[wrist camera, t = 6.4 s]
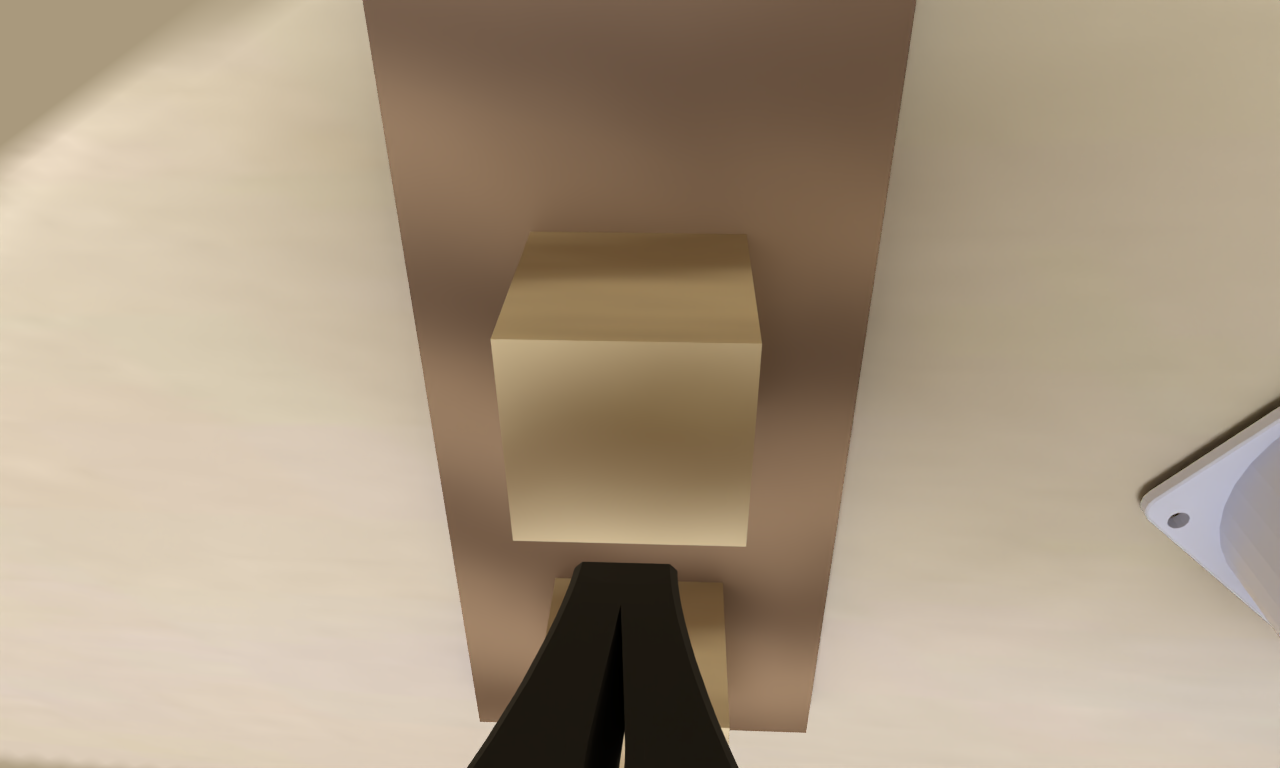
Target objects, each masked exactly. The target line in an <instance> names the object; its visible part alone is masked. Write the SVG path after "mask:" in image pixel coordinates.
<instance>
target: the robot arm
mask: <svg viewBox="0 0 1280 768" xmlns="http://www.w3.org/2000/svg"><path fill="white" fill-rule="evenodd" d="M1140 508H1141V510H1142V511H1143V513H1144V514H1145V516H1146V517H1147V519H1148V520H1149V521H1150V522H1151V523H1152V524H1153V525H1155V526H1156V527H1157V528H1158V529H1159V530H1160V531H1161V532H1163V533H1164V534H1165V535H1166V536H1167V537H1168V538H1170V539H1171V540H1172V541H1173V542H1174V543H1175V544H1177V545H1178V546H1179V547H1180V548H1181V549H1182V550H1184V551H1185V552H1186V553H1187V554H1188V555H1189V556H1191V557H1192V558H1193V559H1194V560H1195V561H1196V562H1198V563H1199V564H1200V565H1201V566H1202V567H1203V568H1204V569H1206V570H1207V571H1208V572H1209V573H1210V574H1211V575H1213V576H1214V577H1215V578H1216V579H1217V580H1218V581H1220V582H1221V583H1222V584H1223V585H1224V586H1225V587H1227V588H1228V589H1229V590H1230V591H1231V592H1232V593H1234V594H1235V595H1236V596H1237V597H1238V598H1239V599H1240V600H1242V601H1243V602H1244V603H1245V604H1246V605H1247V606H1249V607H1250V608H1251V609H1252V610H1253V611H1254V612H1256V613H1257V614H1258V615H1259V616H1260V617H1261V618H1263V619H1264V620H1265V621H1266V622H1267V623H1268V624H1270V625H1271V626H1272V627H1273V628H1274V630H1275V631H1276V633H1277V634H1278V635H1279V637H1280V406H1279V407H1278V408H1276V409H1275V410H1273V411H1272V412H1270V413H1269V414H1267V415H1266V416H1264V417H1263V418H1261V419H1259V420H1258V421H1256V422H1255V423H1253V424H1252V425H1250V426H1249V427H1247V428H1246V429H1244V430H1243V431H1241V432H1239V433H1238V434H1236V435H1235V436H1233V437H1232V438H1230V439H1229V440H1227V441H1226V442H1224V443H1223V444H1221V445H1219V446H1218V447H1216V448H1215V449H1213V450H1212V451H1210V452H1209V453H1207V454H1206V455H1204V456H1203V457H1201V458H1200V459H1198V460H1196V461H1195V462H1193V463H1192V464H1190V465H1189V466H1187V467H1186V468H1184V469H1183V470H1181V471H1180V472H1178V473H1176V474H1175V475H1173V476H1172V477H1170V478H1169V479H1167V480H1166V481H1164V482H1163V483H1161V484H1160V485H1158V486H1157V487H1155V488H1153V489H1152V490H1150V491H1149V492H1148V493H1147V494H1146V495H1144V496H1143V498H1142V500H1141V502H1140ZM1176 513H1179V514H1178V515H1177V516H1175V517H1172V518H1170V517H1171V516H1172V515H1174V514H1176ZM624 735H625V763H624V768H738V766H737V764H736V761H735V759H734V757H733V755H732V752H731V750H730V748H729V745H728V743H727V741H726V738H725V736H724V734H723V731H722V729H721V727H720V724H719V722H718V719H717V717H716V714H715V711H714V709H713V706H712V704H711V701H710V698H709V696H708V693H707V690H706V687H705V684H704V681H703V679H702V676H701V673H700V670H699V667H698V664H697V661H696V658H695V655H694V652H693V648H692V645H691V642H690V638H689V634H688V630H687V627H686V623H685V619H684V614H683V610H682V605H681V600H680V593H679V586H678V572H677V570H676V569H675V568H674V567H673V566H672V565H670V564H654V563H616V562H582V563H580V564H579V565H578V566H576V567H575V569H574V572H573V575H572V578H571V581H570V584H569V586H568V589H567V591H566V594H565V596H564V599H563V601H562V603H561V606H560V608H559V610H558V612H557V615H556V617H555V619H554V621H553V623H552V625H551V627H550V629H549V631H548V633H547V635H546V638H545V640H544V642H543V643H542V645H541V647H540V649H539V651H538V653H537V654H536V656H535V658H534V660H533V662H532V664H531V666H530V667H529V669H528V671H527V673H526V675H525V677H524V679H523V680H522V682H521V684H520V686H519V687H518V689H517V691H516V693H515V694H514V696H513V697H512V699H511V701H510V702H509V704H508V705H507V707H506V709H505V710H504V712H503V713H502V715H501V717H500V718H499V720H498V722H497V723H496V725H495V726H494V728H493V730H492V731H491V733H490V734H489V736H488V738H487V739H486V741H485V742H484V744H483V745H482V747H481V748H480V750H479V751H478V753H477V754H476V755H475V757H474V758H473V760H472V761H471V763H470V764H469V766H468V767H467V768H619V766H620V759H621V752H622V746H623V739H624Z"/></svg>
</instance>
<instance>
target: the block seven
mask: <svg viewBox="0 0 1280 768" xmlns="http://www.w3.org/2000/svg"><path fill="white" fill-rule="evenodd" d="M570 581H571V578H555V584H554V590H553V596H552V602H551V608H550V613H549V619H548V625H547V631H546V635H547V633H548V631H549V629H550V627H551V625H552V623H553V621H554V619H555V617H556V615H557V612H558V610H559V608H560V606H561V603H562V601H563V599H564V596H565V594H566V591H567V589H568V586H569V584H570ZM678 586H679V593H680V600H681V605H682V610H683V614H684V619H685V623H686V627H687V630H688V634H689V638H690V642H691V645H692V648H693V652H694V655H695V658H696V661H697V664H698V667H699V670H700V673H701V676H702V679H703V681H704V684H705V687H706V690H707V693H708V696H709V698H710V701H711V704H712V706H713V709H714V711H715V714H716V717H717V719H718V722H719V724H720V727H721V729H722V731H723V734H724V736H725V738H726V741H727V743H728V744H729V731H730V724H729V703H728V682H727V661H726V639H725V618H724V597H723V583H720V582H683V581H678ZM545 638H546V637H545ZM624 763H625V735H624V739H623V746H622V752H621V759H620V766H619V768H624Z"/></svg>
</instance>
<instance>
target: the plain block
mask: <svg viewBox="0 0 1280 768" xmlns="http://www.w3.org/2000/svg"><path fill="white" fill-rule="evenodd" d="M491 348H492V357H493V366H494V375H495V384H496V393H497V402H498V411H499V420H500V429H501V438H502V447H503V456H504V465H505V473H506V482H507V491H508V500H509V509H510V518H511V527H512V536H513V541H544V542H583V543H622V544H661V545H700V546H739V547H746V541H747V529H748V516H749V503H750V491H751V478H752V465H753V453H754V440H755V427H756V415H757V402H758V389H759V377H760V364H761V351H762V340H761V332H760V325H759V318H758V311H757V304H756V297H755V290H754V283H753V276H752V269H751V262H750V255H749V248H748V241H747V234H688V233H603V232H530V234H529V236H528V239H527V242H526V244H525V247H524V250H523V253H522V255H521V258H520V261H519V263H518V266H517V269H516V272H515V274H514V277H513V280H512V282H511V285H510V288H509V290H508V293H507V296H506V299H505V301H504V304H503V307H502V309H501V312H500V315H499V318H498V320H497V323H496V326H495V328H494V331H493V334H492V336H491Z"/></svg>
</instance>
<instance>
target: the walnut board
mask: <svg viewBox="0 0 1280 768" xmlns="http://www.w3.org/2000/svg"><path fill="white" fill-rule="evenodd" d="M363 5H364V11H365V17H366V23H367V30H368V36H369V42H370V48H371V54H372V60H373V66H374V73H375V79H376V85H377V91H378V97H379V103H380V109H381V116H382V122H383V128H384V134H385V140H386V146H387V153H388V159H389V165H390V171H391V177H392V183H393V189H394V196H395V202H396V208H397V214H398V220H399V226H400V232H401V239H402V245H403V251H404V257H405V263H406V269H407V276H408V282H409V288H410V294H411V300H412V306H413V312H414V319H415V325H416V331H417V337H418V343H419V349H420V356H421V362H422V368H423V374H424V380H425V386H426V392H427V399H428V405H429V411H430V417H431V423H432V429H433V435H434V442H435V448H436V454H437V460H438V466H439V472H440V479H441V485H442V491H443V497H444V503H445V509H446V515H447V522H448V528H449V534H450V540H451V546H452V552H453V558H454V565H455V571H456V577H457V583H458V589H459V595H460V602H461V608H462V614H463V620H464V626H465V632H466V638H467V645H468V651H469V657H470V663H471V669H472V675H473V681H474V688H475V694H476V700H477V706H478V712H479V718H480V722H498V720H499V718H500V717H501V715H502V713H503V712H504V710H505V709H506V707H507V705H508V704H509V702H510V701H511V699H512V697H513V696H514V694H515V693H516V691H517V689H518V687H519V686H520V684H521V682H522V680H523V679H524V677H525V675H526V673H527V671H528V669H529V667H530V666H531V664H532V662H533V660H534V658H535V656H536V654H537V653H538V651H539V649H540V647H541V645H542V643H543V642H544V640H545V637H546V631H547V625H548V619H549V613H550V608H551V602H552V596H553V590H554V584H555V578H572V575H573V572H574V569H575V567H576V566H578V565H579V564H580V563H582V562H616V563H654V564H670V565H672V566H673V567H674V568H675V569H676V570H677V572H678V581H683V582H720V583H723V597H724V618H725V639H726V661H727V682H728V703H729V724H730V730H744V731H774V732H803V733H806V728H807V722H808V715H809V708H810V702H811V695H812V689H813V682H814V675H815V669H816V662H817V655H818V649H819V642H820V635H821V629H822V622H823V616H824V609H825V602H826V596H827V589H828V582H829V576H830V569H831V563H832V556H833V549H834V543H835V536H836V529H837V523H838V516H839V510H840V503H841V496H842V490H843V483H844V476H845V470H846V463H847V456H848V450H849V443H850V437H851V430H852V423H853V417H854V410H855V403H856V397H857V390H858V384H859V377H860V370H861V364H862V357H863V350H864V344H865V337H866V331H867V324H868V317H869V311H870V304H871V297H872V291H873V284H874V278H875V271H876V264H877V258H878V251H879V244H880V238H881V231H882V224H883V218H884V211H885V205H886V198H887V191H888V185H889V178H890V171H891V165H892V158H893V152H894V145H895V138H896V132H897V125H898V118H899V112H900V105H901V99H902V92H903V85H904V79H905V72H906V65H907V59H908V52H909V46H910V39H911V32H912V26H913V19H914V12H915V6H916V0H363ZM530 232H603V233H688V234H747V241H748V248H749V255H750V262H751V269H752V276H753V283H754V290H755V297H756V304H757V311H758V318H759V325H760V332H761V340H762V351H761V364H760V377H759V389H758V402H757V415H756V427H755V440H754V453H753V465H752V478H751V491H750V503H749V516H748V529H747V541H746V547H739V546H700V545H661V544H622V543H583V542H544V541H513V536H512V527H511V518H510V509H509V500H508V491H507V482H506V473H505V465H504V456H503V447H502V438H501V429H500V420H499V411H498V402H497V393H496V384H495V375H494V366H493V357H492V348H491V336H492V334H493V331H494V328H495V326H496V323H497V320H498V318H499V315H500V312H501V309H502V307H503V304H504V301H505V299H506V296H507V293H508V290H509V288H510V285H511V282H512V280H513V277H514V274H515V272H516V269H517V266H518V263H519V261H520V258H521V255H522V253H523V250H524V247H525V244H526V242H527V239H528V236H529V234H530Z"/></svg>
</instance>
